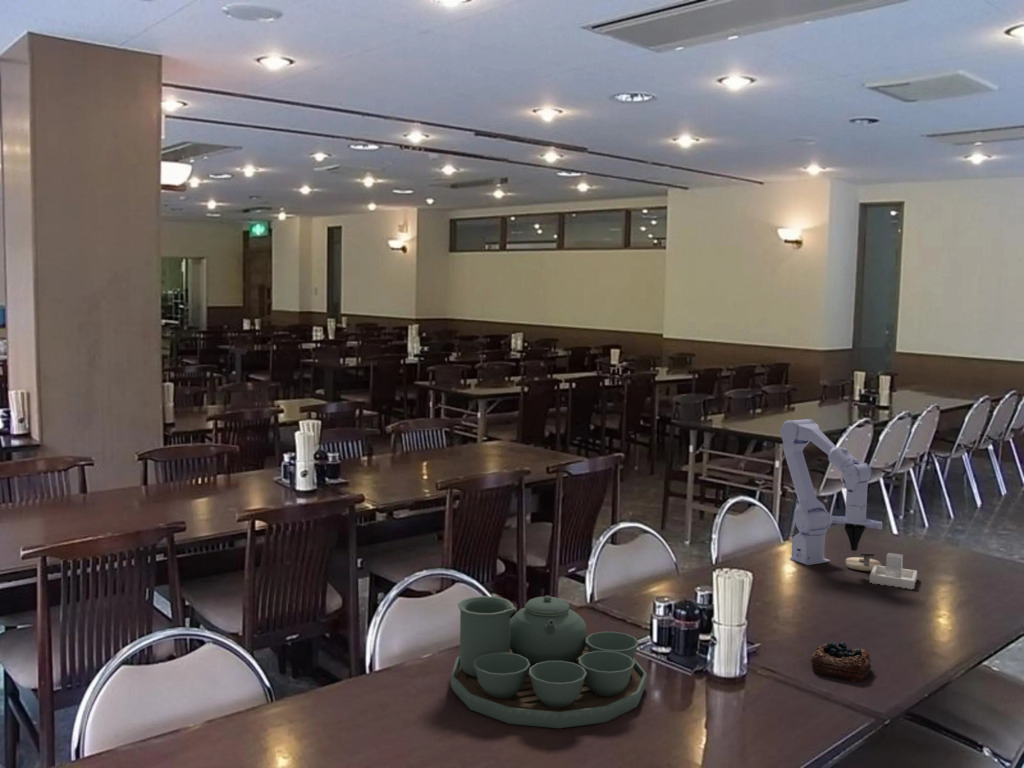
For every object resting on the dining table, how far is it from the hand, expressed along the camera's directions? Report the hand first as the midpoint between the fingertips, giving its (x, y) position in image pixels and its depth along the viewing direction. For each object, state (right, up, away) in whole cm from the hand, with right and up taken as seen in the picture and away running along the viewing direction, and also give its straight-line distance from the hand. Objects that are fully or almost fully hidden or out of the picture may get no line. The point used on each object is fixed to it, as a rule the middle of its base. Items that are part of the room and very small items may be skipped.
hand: (854, 550), depth 270 cm
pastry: (-30, -14, -71) cm, 78 cm away
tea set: (-93, -14, -82) cm, 125 cm away
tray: (+9, -8, -6) cm, 13 cm away
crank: (+5, -7, +8) cm, 11 cm away
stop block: (+9, -7, -6) cm, 13 cm away
